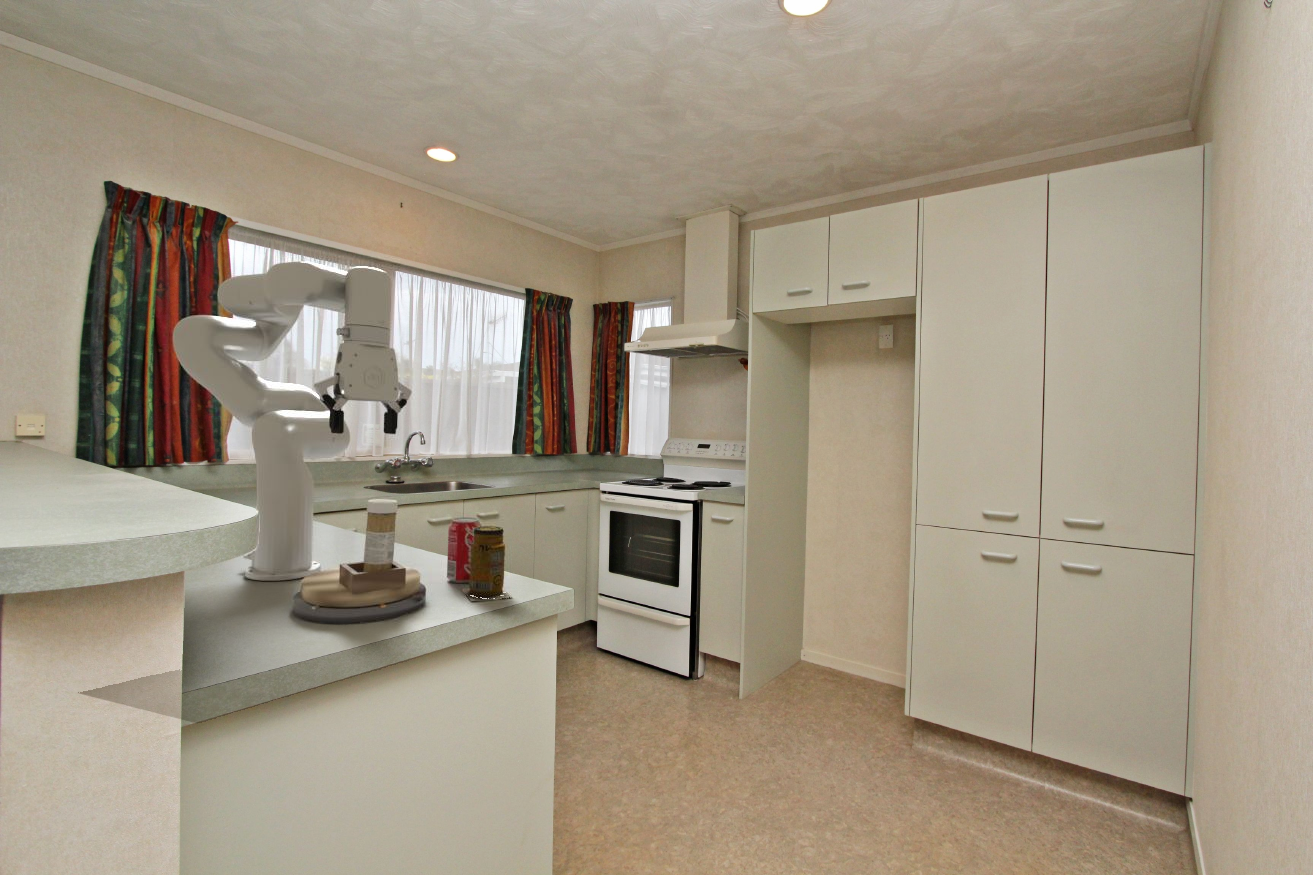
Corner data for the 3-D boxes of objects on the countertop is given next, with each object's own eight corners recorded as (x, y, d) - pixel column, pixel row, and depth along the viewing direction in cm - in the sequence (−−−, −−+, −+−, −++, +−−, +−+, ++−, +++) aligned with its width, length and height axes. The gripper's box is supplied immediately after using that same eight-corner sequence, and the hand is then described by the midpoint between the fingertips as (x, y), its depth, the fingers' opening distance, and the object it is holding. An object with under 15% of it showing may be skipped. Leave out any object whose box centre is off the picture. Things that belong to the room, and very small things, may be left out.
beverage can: (484, 577, 123) (487, 517, 123) (472, 585, 117) (474, 522, 117) (455, 575, 124) (457, 515, 123) (441, 583, 118) (443, 520, 117)
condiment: (500, 586, 117) (502, 524, 117) (512, 598, 110) (515, 532, 110) (461, 589, 114) (463, 525, 114) (470, 602, 107) (473, 534, 106)
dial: (289, 585, 104) (290, 555, 104) (399, 571, 116) (399, 544, 115) (315, 614, 90) (316, 579, 90) (436, 595, 102) (437, 564, 102)
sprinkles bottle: (375, 577, 103) (381, 497, 103) (398, 581, 101) (404, 500, 102) (354, 583, 98) (361, 499, 98) (378, 587, 97) (384, 502, 97)
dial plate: (262, 613, 96) (262, 598, 96) (358, 582, 115) (359, 570, 115) (366, 631, 90) (366, 616, 90) (449, 595, 110) (450, 583, 110)
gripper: (327, 330, 101) (324, 434, 102) (422, 343, 115) (419, 434, 116) (306, 332, 106) (304, 432, 106) (400, 345, 120) (397, 432, 120)
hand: (364, 433), depth 111 cm, fingers open, 9 cm apart
